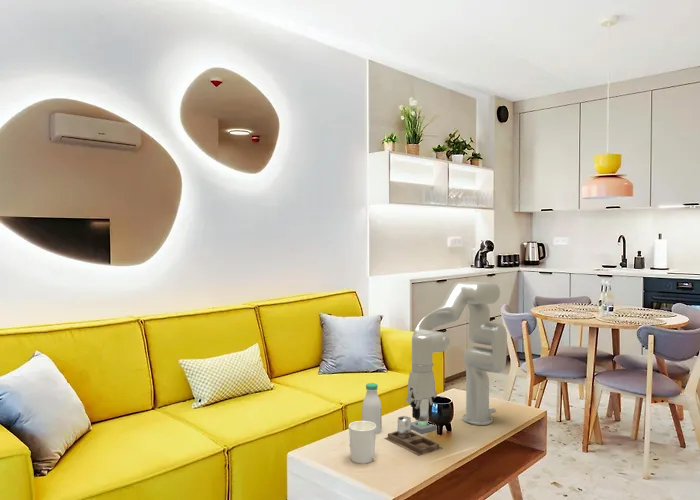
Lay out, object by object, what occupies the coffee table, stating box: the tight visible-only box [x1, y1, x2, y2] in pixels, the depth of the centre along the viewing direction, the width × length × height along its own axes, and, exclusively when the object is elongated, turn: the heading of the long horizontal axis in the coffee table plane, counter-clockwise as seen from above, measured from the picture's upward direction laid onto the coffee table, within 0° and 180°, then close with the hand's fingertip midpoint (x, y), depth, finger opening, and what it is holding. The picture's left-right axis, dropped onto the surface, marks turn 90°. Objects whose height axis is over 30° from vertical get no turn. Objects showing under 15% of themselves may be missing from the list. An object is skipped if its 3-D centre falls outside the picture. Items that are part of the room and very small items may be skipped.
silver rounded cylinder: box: [414, 398, 430, 422], centre depth 199 cm, size 5×5×9 cm
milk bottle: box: [361, 382, 383, 435], centre depth 216 cm, size 8×8×20 cm
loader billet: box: [397, 415, 412, 440], centre depth 208 cm, size 5×5×9 cm
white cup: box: [348, 420, 377, 464], centre depth 193 cm, size 10×10×12 cm
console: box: [411, 420, 438, 435], centre depth 219 cm, size 8×8×3 cm
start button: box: [418, 421, 427, 427], centre depth 219 cm, size 4×4×4 cm
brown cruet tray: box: [383, 430, 444, 457], centre depth 204 cm, size 12×20×3 cm, turn 35°
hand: (421, 416), depth 199 cm, fingers closed on silver rounded cylinder, 5 cm apart
